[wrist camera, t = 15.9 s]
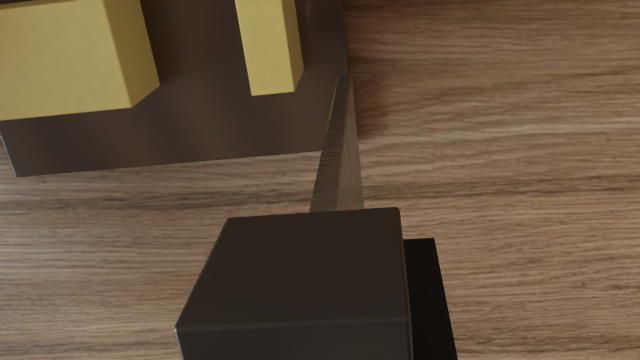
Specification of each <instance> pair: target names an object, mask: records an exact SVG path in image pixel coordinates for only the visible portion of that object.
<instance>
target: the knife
mask: <svg viewBox="0 0 640 360" xmlns="http://www.w3.org/2000/svg"><path fill="white" fill-rule="evenodd" d="M174 332H175V336H176V339H177V343H178V347H179V350H180V354H181V358H182V360H413V343H412V327H411V314H410V305H409V295H408V285H407V276H406V266H405V256H404V247H403V237H402V227H401V217H400V210H399V208H397V207H387V208H372V209H364V200H363V189H362V178H361V168H360V157H359V146H358V135H357V125H356V114H355V103H354V92H353V82H352V76H351V75H348V76H339V77H338V78H337V83H336V88H335V93H334V97H333V102H332V107H331V111H330V116H329V121H328V125H327V130H326V135H325V140H324V144H323V149H322V154H321V158H320V163H319V168H318V172H317V177H316V182H315V187H314V191H313V196H312V201H311V205H310V210H309V213H295V214H279V215H264V216H249V217H233V218H228V219H227V220H226V222H225V224H224V226H223V228H222V230H221V232H220V234H219V236H218V238H217V240H216V242H215V245H214V247H213V249H212V251H211V253H210V255H209V257H208V259H207V261H206V263H205V265H204V267H203V269H202V271H201V273H200V275H199V277H198V279H197V282H196V284H195V286H194V288H193V290H192V292H191V294H190V296H189V298H188V300H187V302H186V304H185V306H184V308H183V310H182V312H181V314H180V316H179V319H178V321H177V323H176V325H175V327H174Z"/></svg>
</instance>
